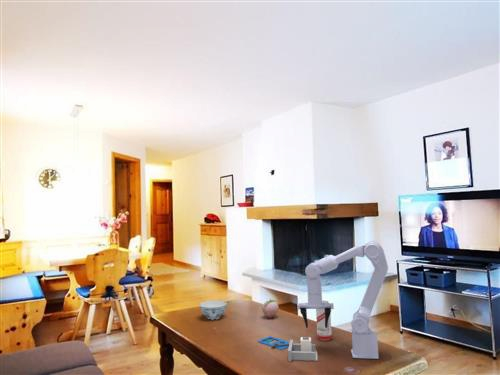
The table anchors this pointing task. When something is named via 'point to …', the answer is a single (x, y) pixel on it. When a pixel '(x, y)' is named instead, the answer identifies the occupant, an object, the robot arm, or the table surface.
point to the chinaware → (213, 309)
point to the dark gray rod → (280, 345)
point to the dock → (301, 353)
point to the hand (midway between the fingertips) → (316, 327)
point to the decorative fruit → (270, 308)
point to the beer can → (323, 325)
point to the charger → (306, 344)
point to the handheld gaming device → (274, 342)
